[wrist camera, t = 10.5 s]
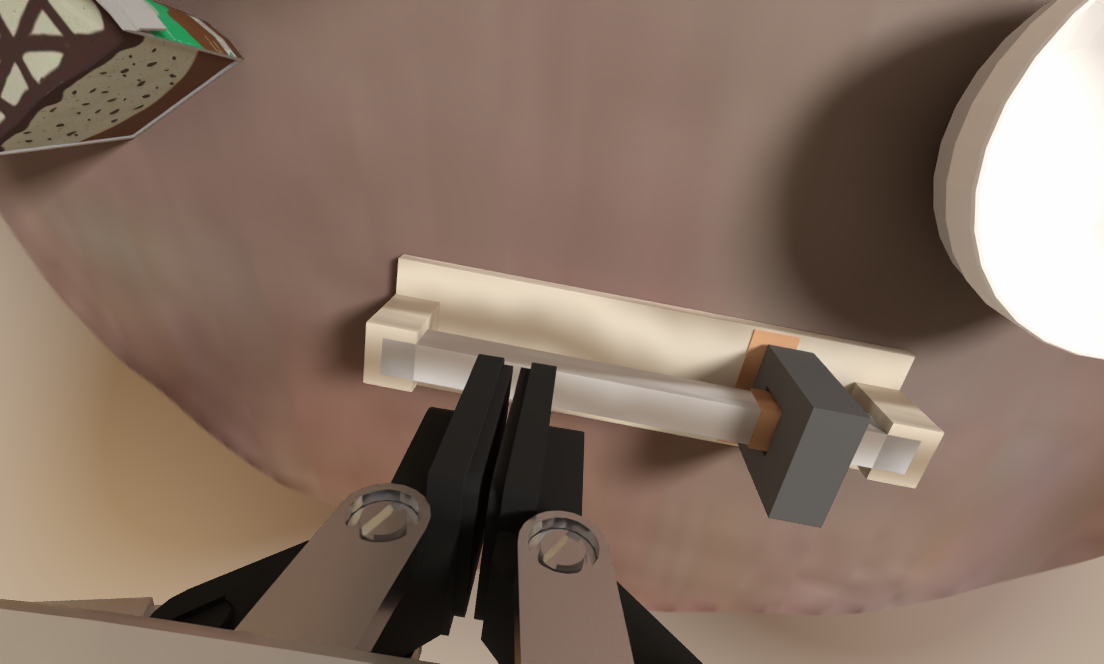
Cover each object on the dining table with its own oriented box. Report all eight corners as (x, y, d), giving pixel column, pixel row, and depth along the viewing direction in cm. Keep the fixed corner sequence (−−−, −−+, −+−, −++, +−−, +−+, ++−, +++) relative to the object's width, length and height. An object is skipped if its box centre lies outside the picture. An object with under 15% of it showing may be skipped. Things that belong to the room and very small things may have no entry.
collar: (768, 344, 36) (813, 407, 29) (813, 352, 36) (871, 418, 29) (734, 437, 39) (768, 517, 31) (777, 445, 39) (821, 527, 31)
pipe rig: (403, 254, 37) (367, 282, 31) (907, 350, 37) (965, 396, 31) (394, 373, 41) (360, 418, 35) (855, 461, 41) (899, 522, 35)
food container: (192, -63, 31) (23, -133, 22) (262, 45, 33) (133, 22, 24) (46, 57, 34) (-158, 39, 25) (118, 150, 36) (-47, 165, 27)
